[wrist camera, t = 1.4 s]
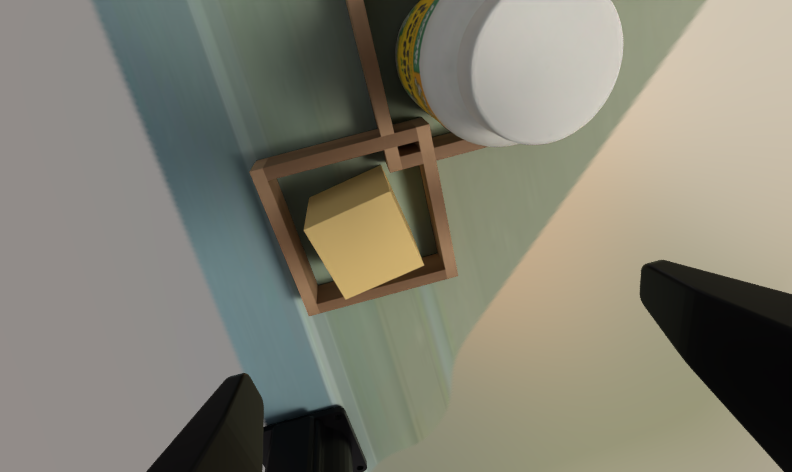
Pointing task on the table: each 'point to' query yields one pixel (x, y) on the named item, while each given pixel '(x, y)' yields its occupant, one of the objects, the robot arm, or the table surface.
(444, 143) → the frame
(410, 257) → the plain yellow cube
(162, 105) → the table surface
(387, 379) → the table surface
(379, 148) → the frame
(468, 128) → the supplement bottle
